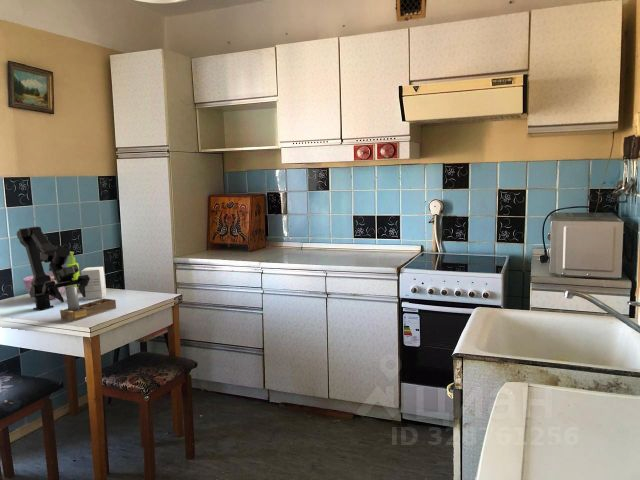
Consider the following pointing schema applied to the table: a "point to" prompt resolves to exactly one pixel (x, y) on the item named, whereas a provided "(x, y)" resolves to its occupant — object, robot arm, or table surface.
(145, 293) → the table surface
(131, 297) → the table surface
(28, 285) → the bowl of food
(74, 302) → the plug
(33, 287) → the robot arm
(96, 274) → the supplement box
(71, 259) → the soap dispenser
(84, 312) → the rack
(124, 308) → the table surface
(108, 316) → the table surface
